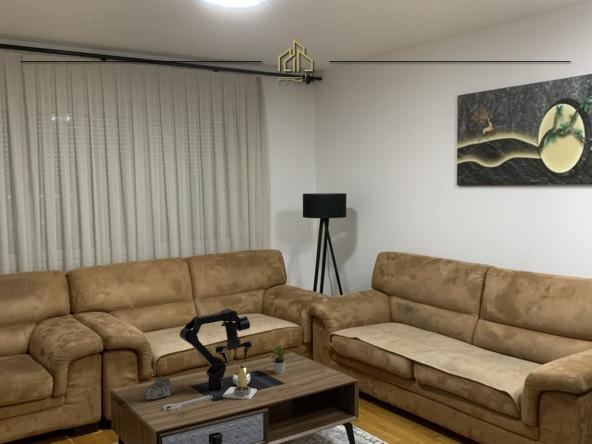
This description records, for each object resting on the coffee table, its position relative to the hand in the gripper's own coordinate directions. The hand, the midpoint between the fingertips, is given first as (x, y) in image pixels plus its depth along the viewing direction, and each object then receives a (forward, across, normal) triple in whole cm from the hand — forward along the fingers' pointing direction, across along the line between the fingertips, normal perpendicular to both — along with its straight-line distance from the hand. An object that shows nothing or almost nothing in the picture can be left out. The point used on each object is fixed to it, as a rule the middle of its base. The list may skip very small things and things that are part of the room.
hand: (236, 363), depth 297 cm
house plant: (+13, +19, +22) cm, 32 cm away
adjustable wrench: (+12, -23, -22) cm, 34 cm away
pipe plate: (+14, +1, -10) cm, 17 cm away
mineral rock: (+8, -39, -12) cm, 42 cm away
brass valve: (+13, +2, -13) cm, 18 cm away
